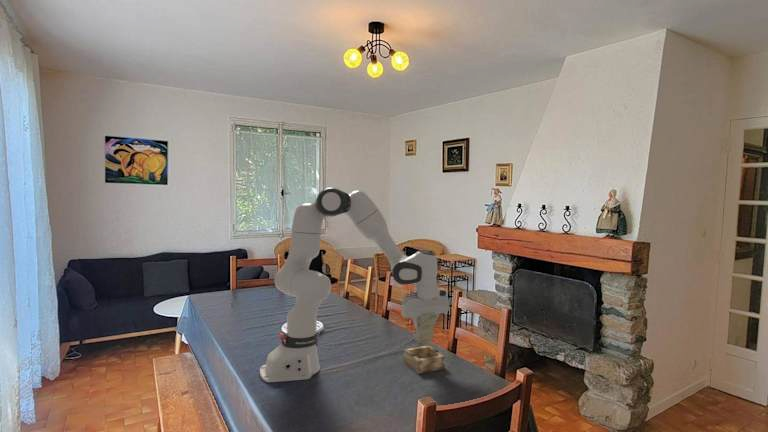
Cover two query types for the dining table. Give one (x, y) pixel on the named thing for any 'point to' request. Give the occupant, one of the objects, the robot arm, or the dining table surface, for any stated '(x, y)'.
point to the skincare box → (425, 328)
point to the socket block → (424, 359)
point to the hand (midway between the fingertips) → (424, 325)
